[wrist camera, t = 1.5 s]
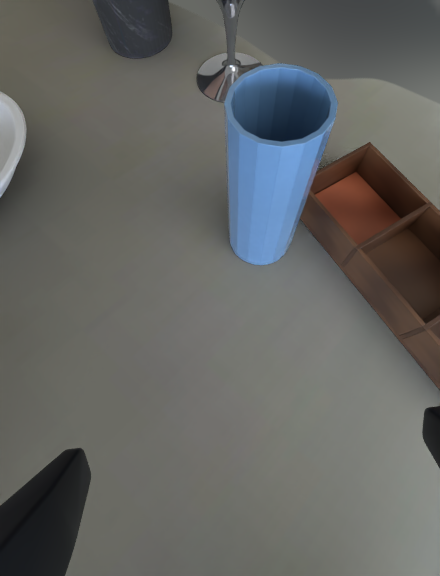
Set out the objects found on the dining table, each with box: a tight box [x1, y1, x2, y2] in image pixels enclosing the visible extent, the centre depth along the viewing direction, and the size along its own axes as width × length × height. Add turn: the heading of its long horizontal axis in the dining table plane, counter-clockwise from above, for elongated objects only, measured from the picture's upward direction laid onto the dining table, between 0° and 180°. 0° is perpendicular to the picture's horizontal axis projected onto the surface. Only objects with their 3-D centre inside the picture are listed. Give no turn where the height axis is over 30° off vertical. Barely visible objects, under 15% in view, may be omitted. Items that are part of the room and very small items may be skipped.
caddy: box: [300, 142, 440, 390], centre depth 23 cm, size 20×7×3 cm, turn 31°
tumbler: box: [224, 63, 338, 265], centre depth 20 cm, size 5×5×12 cm
